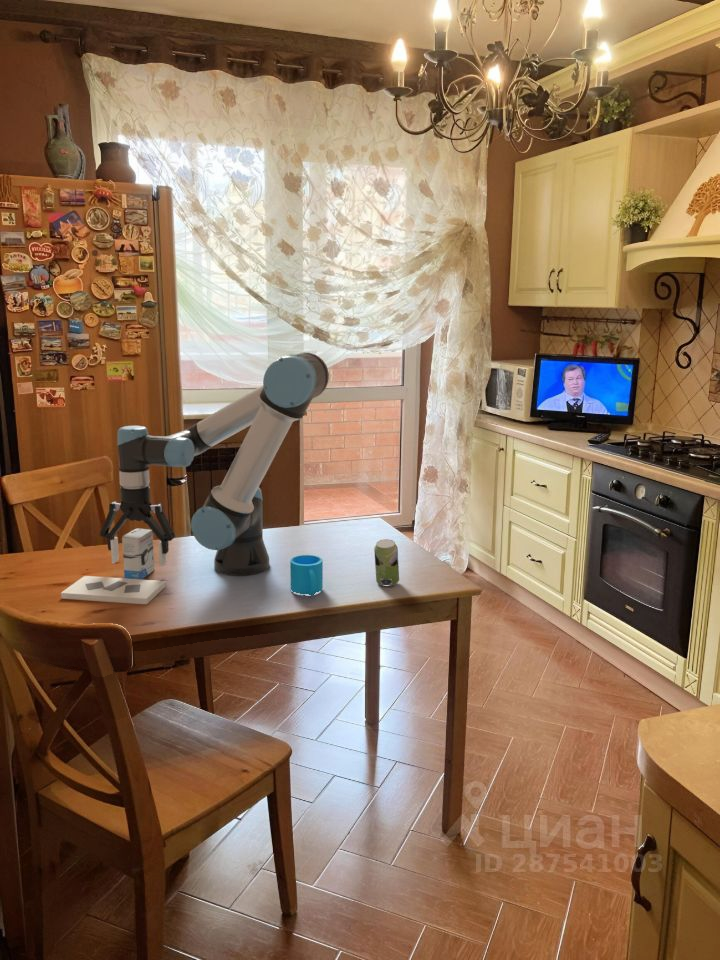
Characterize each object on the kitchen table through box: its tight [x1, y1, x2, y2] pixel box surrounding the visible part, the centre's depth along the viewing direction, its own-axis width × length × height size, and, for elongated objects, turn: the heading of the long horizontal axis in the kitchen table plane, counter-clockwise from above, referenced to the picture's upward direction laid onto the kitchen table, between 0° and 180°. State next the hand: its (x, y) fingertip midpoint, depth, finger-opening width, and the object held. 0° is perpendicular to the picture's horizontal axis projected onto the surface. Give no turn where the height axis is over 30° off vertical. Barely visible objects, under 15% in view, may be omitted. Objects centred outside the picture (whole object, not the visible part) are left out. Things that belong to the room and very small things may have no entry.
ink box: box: [121, 528, 155, 580], centre depth 202 cm, size 8×5×12 cm, turn 168°
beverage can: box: [373, 539, 400, 586], centre depth 197 cm, size 6×7×12 cm
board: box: [60, 575, 167, 605], centre depth 191 cm, size 22×12×2 cm, turn 82°
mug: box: [289, 554, 324, 596], centre depth 192 cm, size 12×8×8 cm
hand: (138, 563), depth 203 cm, fingers open, 12 cm apart
